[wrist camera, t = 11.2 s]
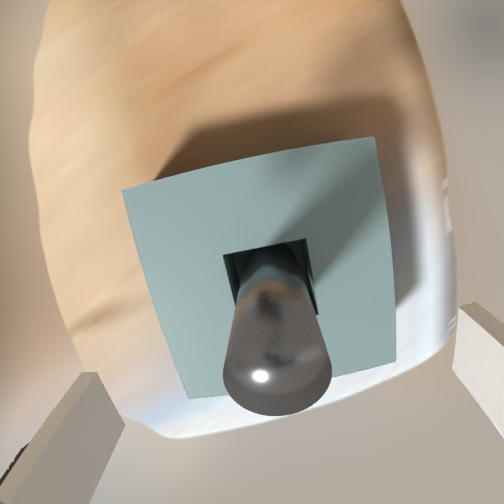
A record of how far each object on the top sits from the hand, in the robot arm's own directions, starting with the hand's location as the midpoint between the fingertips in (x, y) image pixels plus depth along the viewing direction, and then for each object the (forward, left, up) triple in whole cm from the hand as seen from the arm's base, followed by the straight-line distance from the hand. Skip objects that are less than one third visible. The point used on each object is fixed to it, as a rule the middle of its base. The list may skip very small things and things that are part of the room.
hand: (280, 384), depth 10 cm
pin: (0, 0, -15) cm, 15 cm away
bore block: (0, 0, -16) cm, 16 cm away
